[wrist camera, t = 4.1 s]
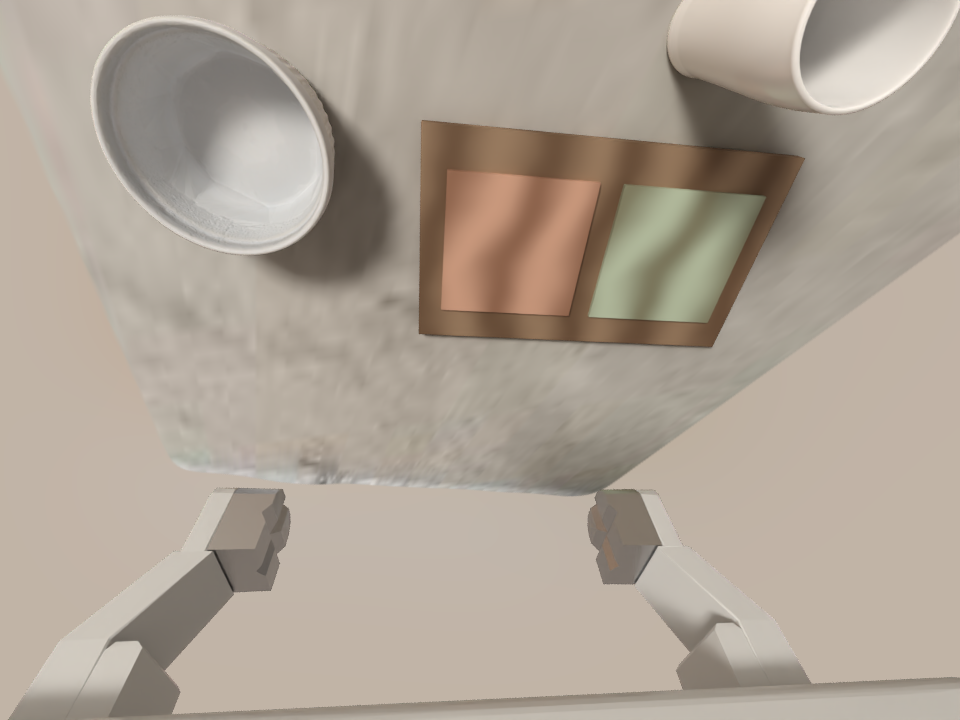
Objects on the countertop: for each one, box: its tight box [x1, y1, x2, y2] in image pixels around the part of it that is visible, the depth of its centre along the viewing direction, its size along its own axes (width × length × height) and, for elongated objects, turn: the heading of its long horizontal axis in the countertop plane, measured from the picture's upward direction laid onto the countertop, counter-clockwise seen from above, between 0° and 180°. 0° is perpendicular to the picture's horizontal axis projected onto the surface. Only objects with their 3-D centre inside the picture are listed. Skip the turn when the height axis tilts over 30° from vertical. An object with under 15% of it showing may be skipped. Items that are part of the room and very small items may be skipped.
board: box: [419, 120, 805, 347], centre depth 38 cm, size 30×18×1 cm, turn 85°
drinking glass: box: [667, 0, 960, 115], centre depth 24 cm, size 7×7×15 cm
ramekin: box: [90, 16, 335, 255], centre depth 29 cm, size 13×13×7 cm
